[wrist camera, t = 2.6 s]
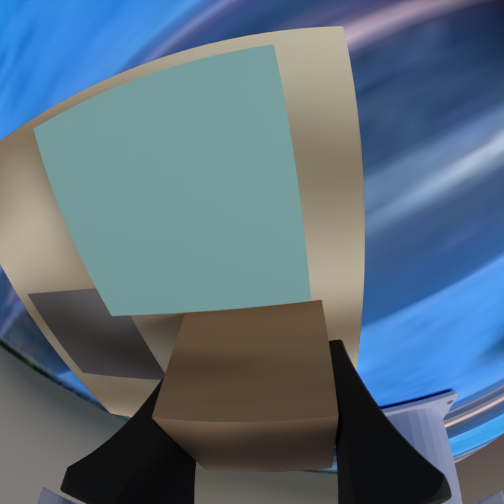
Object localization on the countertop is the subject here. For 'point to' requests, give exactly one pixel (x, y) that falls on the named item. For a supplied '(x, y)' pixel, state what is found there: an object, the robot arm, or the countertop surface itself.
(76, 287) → the baseplate
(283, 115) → the teal block
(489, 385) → the countertop surface
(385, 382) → the countertop surface
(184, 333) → the walnut block
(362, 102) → the countertop surface
